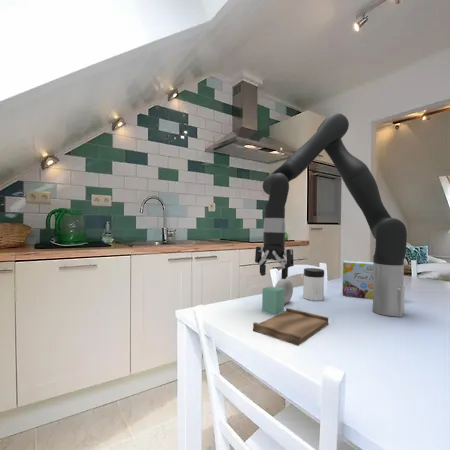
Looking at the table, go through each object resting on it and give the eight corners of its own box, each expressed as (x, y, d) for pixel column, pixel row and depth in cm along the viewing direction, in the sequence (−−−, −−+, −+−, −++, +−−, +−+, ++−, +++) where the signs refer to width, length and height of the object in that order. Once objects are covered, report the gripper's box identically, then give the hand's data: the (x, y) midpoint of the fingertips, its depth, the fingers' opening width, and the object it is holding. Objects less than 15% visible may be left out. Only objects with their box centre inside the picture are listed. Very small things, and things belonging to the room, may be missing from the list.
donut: (287, 300, 109) (287, 275, 109) (294, 302, 107) (294, 276, 107) (272, 305, 102) (272, 278, 102) (280, 307, 100) (280, 280, 100)
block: (284, 311, 95) (284, 288, 95) (275, 315, 91) (276, 291, 91) (270, 308, 99) (270, 286, 99) (262, 311, 95) (262, 288, 95)
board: (328, 324, 83) (328, 317, 83) (298, 345, 68) (298, 337, 68) (287, 313, 93) (287, 307, 93) (253, 330, 78) (253, 323, 78)
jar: (307, 301, 109) (308, 271, 109) (299, 295, 117) (299, 268, 117) (328, 300, 110) (329, 271, 110) (319, 295, 118) (319, 267, 118)
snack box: (342, 296, 117) (343, 261, 117) (342, 293, 122) (342, 260, 122) (400, 302, 109) (400, 264, 109) (397, 298, 114) (397, 263, 114)
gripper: (297, 231, 93) (296, 278, 93) (263, 230, 103) (262, 273, 103) (287, 232, 88) (285, 281, 88) (251, 230, 97) (250, 275, 97)
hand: (273, 277), depth 95 cm, fingers open, 8 cm apart
